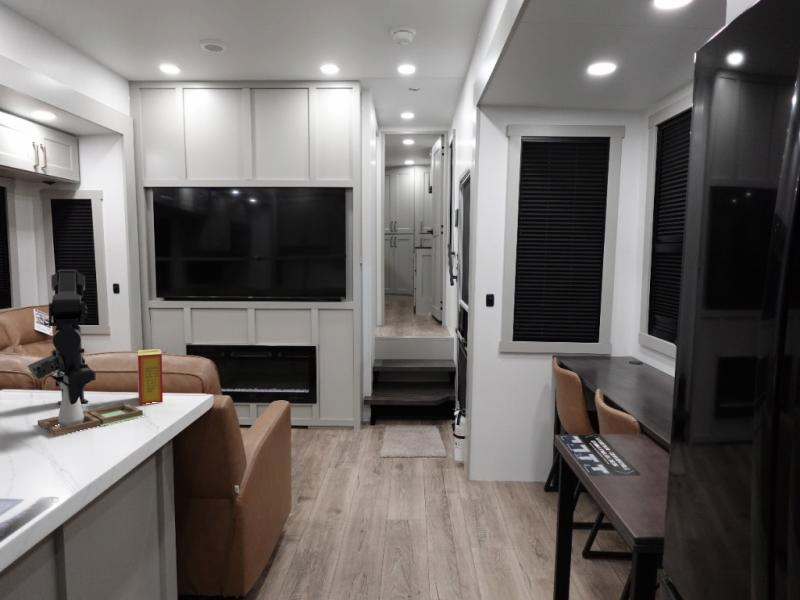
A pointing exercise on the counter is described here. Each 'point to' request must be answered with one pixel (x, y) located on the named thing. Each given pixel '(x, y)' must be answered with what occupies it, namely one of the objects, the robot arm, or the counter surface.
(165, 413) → the counter surface
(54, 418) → the frame
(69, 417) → the salt shaker
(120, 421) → the card
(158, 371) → the baking soda box
